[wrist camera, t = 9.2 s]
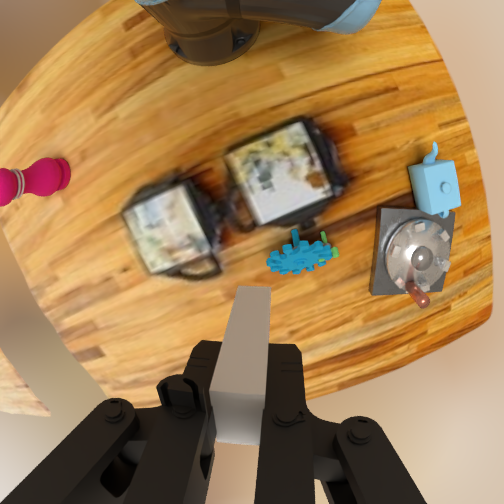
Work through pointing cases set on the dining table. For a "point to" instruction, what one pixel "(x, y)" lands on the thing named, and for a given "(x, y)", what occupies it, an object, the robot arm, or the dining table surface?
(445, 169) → the teapot
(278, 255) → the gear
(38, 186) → the pepper mill
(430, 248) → the grey rounded piece
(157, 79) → the dining table surface
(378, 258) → the base plate
